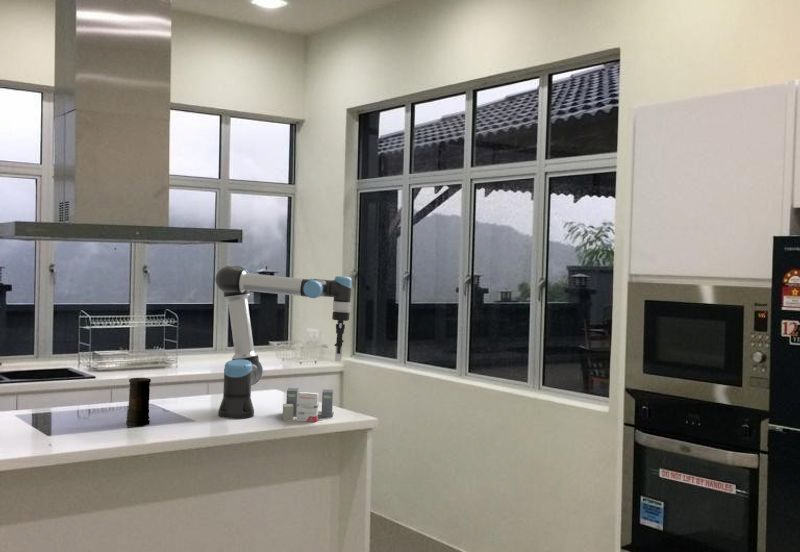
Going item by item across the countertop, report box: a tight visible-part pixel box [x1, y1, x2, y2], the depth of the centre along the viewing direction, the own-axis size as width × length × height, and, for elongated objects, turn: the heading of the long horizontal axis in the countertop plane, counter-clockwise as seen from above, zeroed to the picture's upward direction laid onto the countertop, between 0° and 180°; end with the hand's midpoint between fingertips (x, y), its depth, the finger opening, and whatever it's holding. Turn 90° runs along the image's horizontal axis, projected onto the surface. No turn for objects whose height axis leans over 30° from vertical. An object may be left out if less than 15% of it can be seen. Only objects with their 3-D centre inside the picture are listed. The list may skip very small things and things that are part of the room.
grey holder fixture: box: [285, 387, 335, 418], centre depth 351 cm, size 21×8×11 cm, turn 92°
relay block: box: [282, 403, 294, 421], centre depth 340 cm, size 4×6×6 cm, turn 12°
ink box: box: [296, 391, 320, 423], centre depth 339 cm, size 9×5×12 cm, turn 84°
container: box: [125, 377, 152, 427], centre depth 317 cm, size 9×9×18 cm
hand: (338, 359), depth 351 cm, fingers open, 13 cm apart
